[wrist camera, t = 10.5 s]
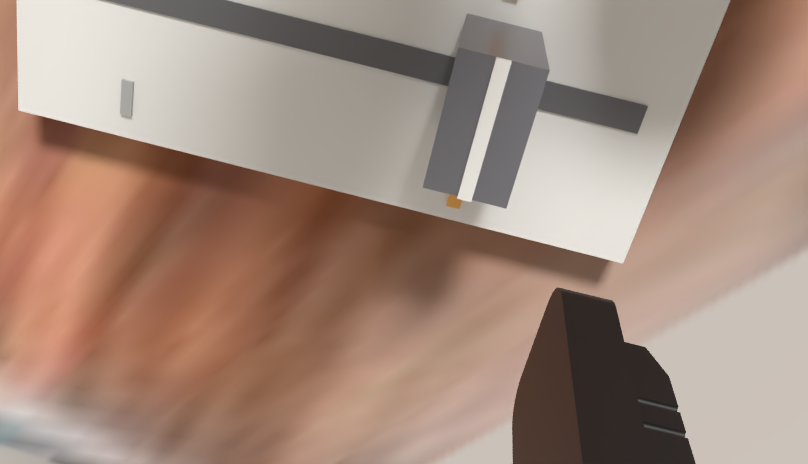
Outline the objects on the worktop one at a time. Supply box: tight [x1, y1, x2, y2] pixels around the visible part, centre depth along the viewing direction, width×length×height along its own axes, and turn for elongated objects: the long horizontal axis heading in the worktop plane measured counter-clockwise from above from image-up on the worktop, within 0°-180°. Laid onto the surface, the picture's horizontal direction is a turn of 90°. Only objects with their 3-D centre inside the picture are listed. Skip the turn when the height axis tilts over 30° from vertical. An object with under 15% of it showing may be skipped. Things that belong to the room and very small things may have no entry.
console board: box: [17, 0, 730, 263], centre depth 32 cm, size 13×28×2 cm, turn 77°
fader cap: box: [423, 13, 550, 209], centre depth 28 cm, size 5×3×6 cm, turn 167°
